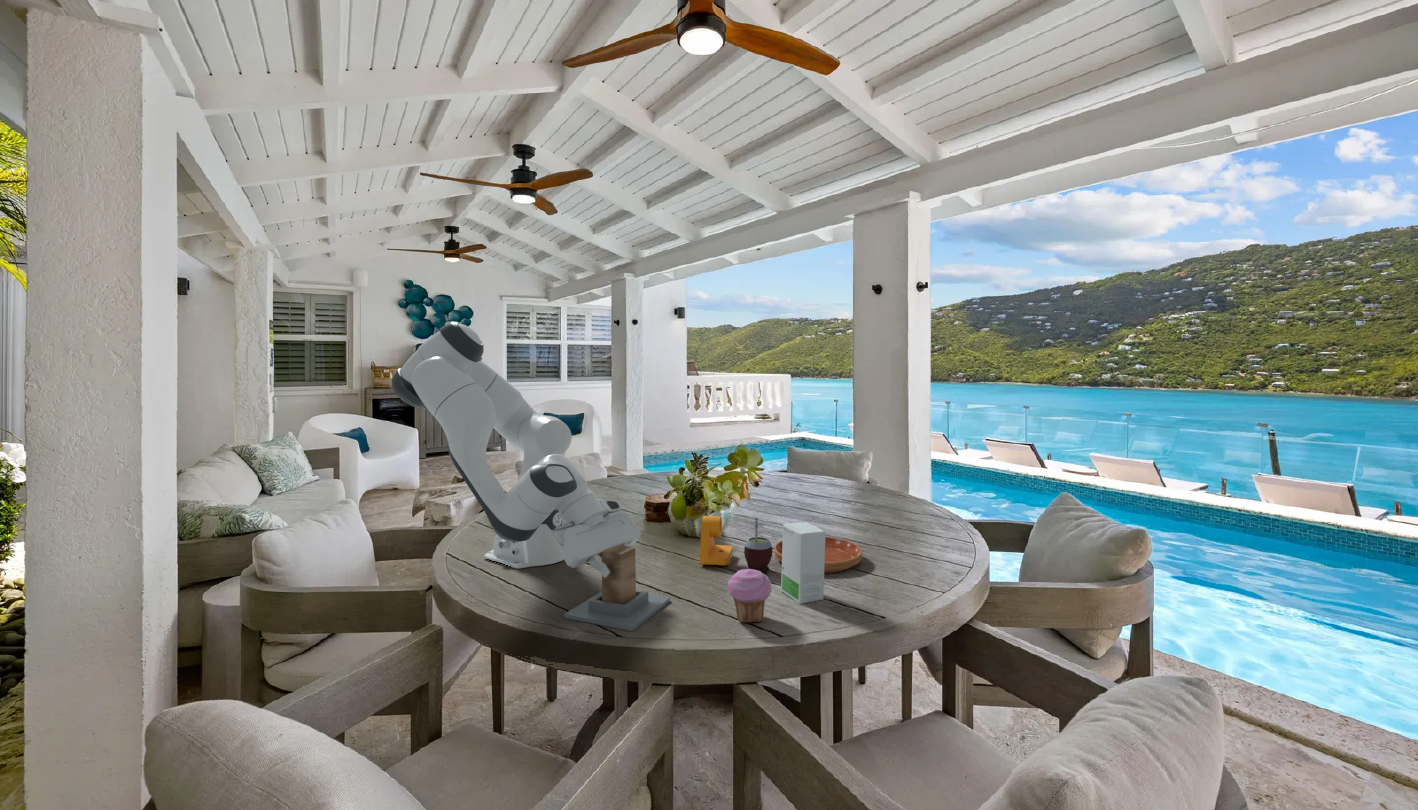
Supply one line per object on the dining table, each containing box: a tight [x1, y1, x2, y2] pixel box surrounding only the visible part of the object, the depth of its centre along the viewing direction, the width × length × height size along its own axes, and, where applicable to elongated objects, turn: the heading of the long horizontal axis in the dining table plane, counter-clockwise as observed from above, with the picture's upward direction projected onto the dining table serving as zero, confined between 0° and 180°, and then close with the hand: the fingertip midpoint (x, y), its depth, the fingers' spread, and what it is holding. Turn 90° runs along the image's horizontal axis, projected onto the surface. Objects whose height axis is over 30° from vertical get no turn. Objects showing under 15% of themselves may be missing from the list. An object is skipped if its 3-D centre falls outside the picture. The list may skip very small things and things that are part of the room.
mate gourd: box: [743, 517, 774, 576], centre depth 143 cm, size 8×8×15 cm
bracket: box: [699, 515, 733, 566], centre depth 152 cm, size 11×7×12 cm, turn 171°
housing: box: [564, 589, 671, 632], centre depth 121 cm, size 16×16×3 cm
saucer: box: [773, 536, 863, 574], centre depth 152 cm, size 23×23×4 cm
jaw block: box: [601, 545, 637, 605], centre depth 120 cm, size 5×5×12 cm
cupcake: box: [726, 568, 772, 623], centre depth 115 cm, size 9×9×10 cm
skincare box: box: [780, 521, 827, 605], centre depth 127 cm, size 8×7×16 cm
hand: (620, 569), depth 120 cm, fingers open, 6 cm apart
